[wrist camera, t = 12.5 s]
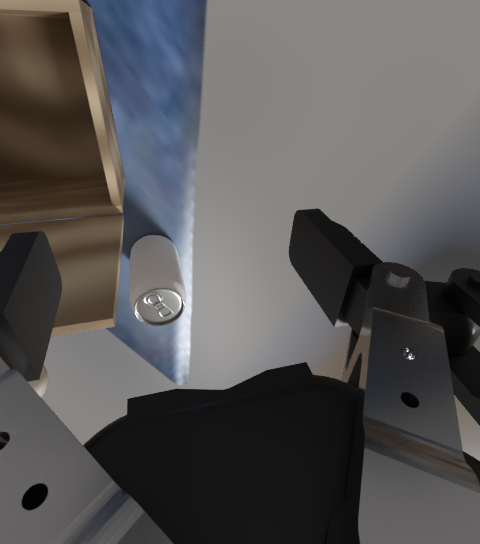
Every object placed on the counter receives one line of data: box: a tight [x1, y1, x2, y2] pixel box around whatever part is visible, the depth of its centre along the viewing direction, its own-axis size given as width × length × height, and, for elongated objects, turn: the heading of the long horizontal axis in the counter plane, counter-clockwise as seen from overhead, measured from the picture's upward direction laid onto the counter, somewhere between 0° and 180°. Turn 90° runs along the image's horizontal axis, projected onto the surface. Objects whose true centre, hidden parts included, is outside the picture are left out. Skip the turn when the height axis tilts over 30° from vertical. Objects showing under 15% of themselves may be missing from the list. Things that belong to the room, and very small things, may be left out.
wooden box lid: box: [0, 214, 124, 397], centre depth 25 cm, size 16×14×7 cm
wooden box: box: [0, 0, 125, 224], centre depth 29 cm, size 16×14×10 cm
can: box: [130, 235, 186, 326], centre depth 41 cm, size 6×6×12 cm
